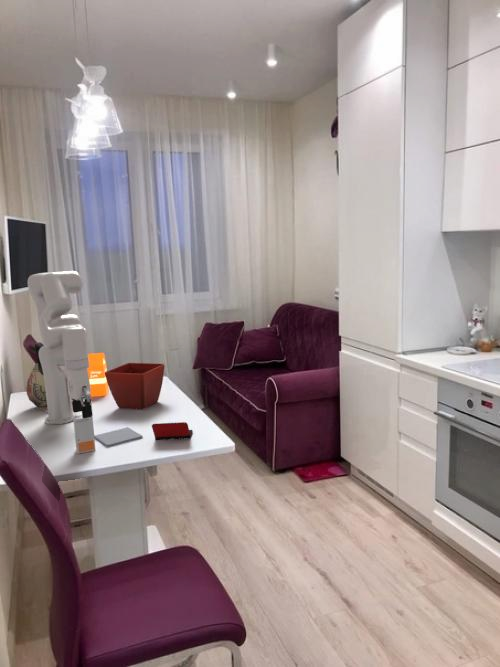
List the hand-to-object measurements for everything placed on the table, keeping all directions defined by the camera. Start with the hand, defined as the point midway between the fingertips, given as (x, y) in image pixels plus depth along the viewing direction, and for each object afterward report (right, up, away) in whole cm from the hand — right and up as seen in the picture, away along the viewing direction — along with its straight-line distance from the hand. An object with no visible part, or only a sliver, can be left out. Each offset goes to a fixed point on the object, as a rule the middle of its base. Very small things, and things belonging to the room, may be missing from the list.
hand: (82, 414), depth 174 cm
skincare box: (0, -13, +2) cm, 13 cm away
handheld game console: (+29, -10, +10) cm, 32 cm away
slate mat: (+9, -10, +13) cm, 19 cm away
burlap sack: (-34, -6, +58) cm, 68 cm away
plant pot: (+7, -5, +54) cm, 54 cm away
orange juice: (-17, -2, +77) cm, 79 cm away
